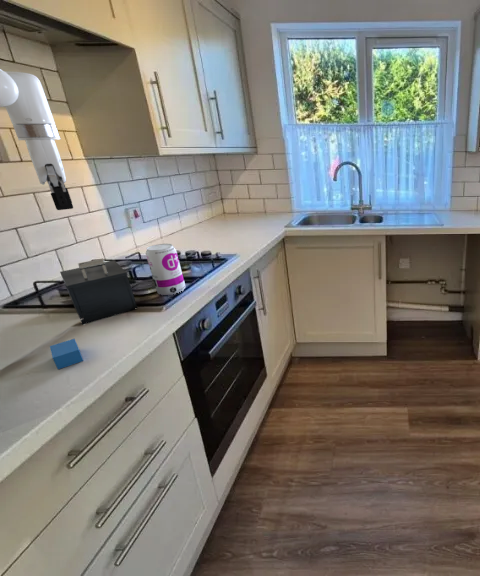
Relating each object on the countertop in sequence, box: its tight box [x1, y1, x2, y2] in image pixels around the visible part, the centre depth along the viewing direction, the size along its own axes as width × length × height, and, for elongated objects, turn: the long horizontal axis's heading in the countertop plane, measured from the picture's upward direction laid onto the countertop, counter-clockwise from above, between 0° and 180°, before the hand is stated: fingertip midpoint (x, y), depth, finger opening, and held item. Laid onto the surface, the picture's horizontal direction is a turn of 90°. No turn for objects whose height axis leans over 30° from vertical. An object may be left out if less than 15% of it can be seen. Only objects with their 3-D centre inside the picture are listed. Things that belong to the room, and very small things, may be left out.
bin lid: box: [59, 258, 128, 289], centre depth 101 cm, size 15×13×5 cm
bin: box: [62, 274, 139, 326], centre depth 104 cm, size 15×13×11 cm
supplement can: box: [145, 243, 187, 296], centre depth 114 cm, size 8×8×15 cm
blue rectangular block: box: [49, 338, 84, 370], centre depth 82 cm, size 7×4×3 cm, turn 45°
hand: (65, 206), depth 91 cm, fingers open, 9 cm apart
